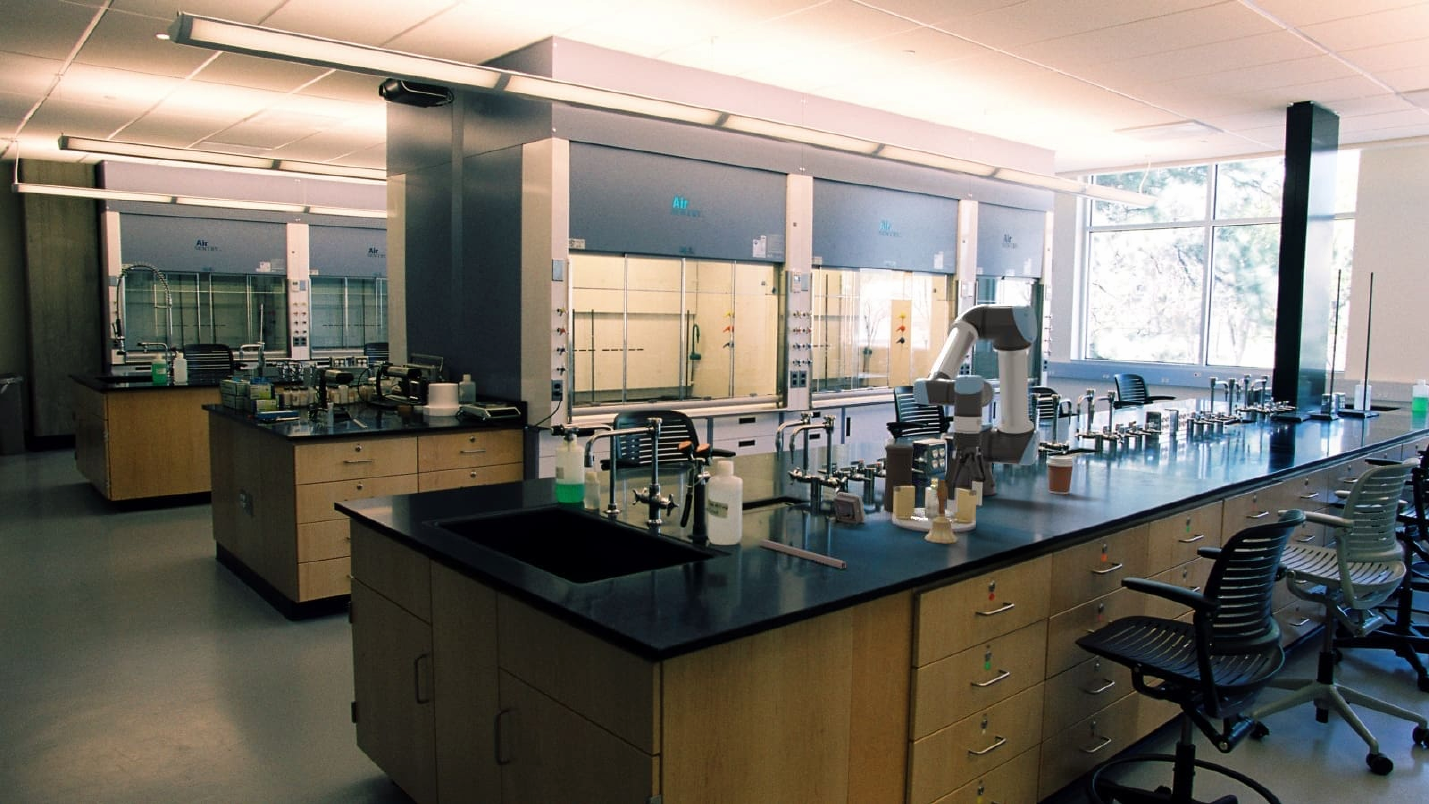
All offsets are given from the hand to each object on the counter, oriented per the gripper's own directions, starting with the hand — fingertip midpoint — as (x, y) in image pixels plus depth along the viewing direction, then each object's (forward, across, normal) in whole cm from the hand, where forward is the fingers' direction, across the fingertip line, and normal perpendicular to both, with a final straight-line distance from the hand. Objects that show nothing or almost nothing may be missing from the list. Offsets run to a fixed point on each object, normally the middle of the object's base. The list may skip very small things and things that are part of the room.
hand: (964, 508), depth 248 cm
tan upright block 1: (+4, -8, +14) cm, 17 cm away
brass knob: (+4, +8, +14) cm, 17 cm away
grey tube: (+7, -55, +13) cm, 57 cm away
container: (+6, +9, +27) cm, 29 cm away
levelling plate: (+6, 0, +10) cm, 11 cm away
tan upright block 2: (+4, 0, 0) cm, 4 cm away
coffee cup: (+6, +73, +4) cm, 73 cm away
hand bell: (+6, -16, -2) cm, 17 cm away
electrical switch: (+6, -15, +28) cm, 32 cm away
